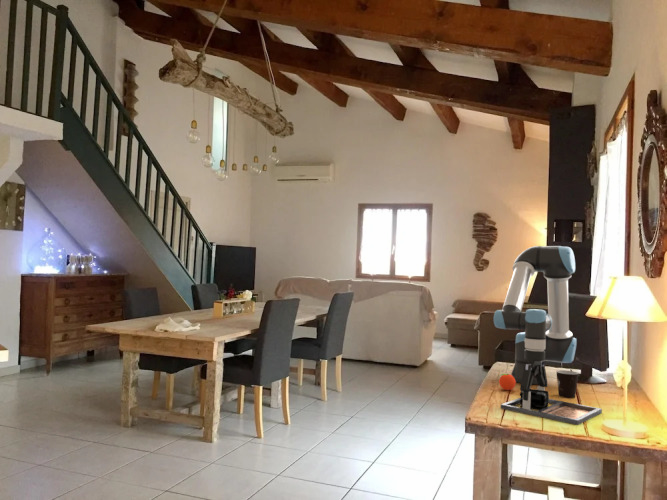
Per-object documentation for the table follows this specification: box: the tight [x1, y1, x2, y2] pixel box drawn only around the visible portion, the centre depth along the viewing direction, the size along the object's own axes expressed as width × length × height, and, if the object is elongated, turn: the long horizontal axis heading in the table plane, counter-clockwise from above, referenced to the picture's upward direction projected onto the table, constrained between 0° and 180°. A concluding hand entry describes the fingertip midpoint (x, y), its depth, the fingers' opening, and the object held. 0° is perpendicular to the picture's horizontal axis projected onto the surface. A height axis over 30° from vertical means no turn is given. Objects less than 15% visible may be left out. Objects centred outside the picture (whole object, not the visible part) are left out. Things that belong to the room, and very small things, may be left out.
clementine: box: [498, 373, 517, 391], centre depth 247 cm, size 8×7×7 cm
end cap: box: [519, 388, 550, 411], centre depth 218 cm, size 10×7×7 cm
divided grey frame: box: [500, 397, 603, 426], centre depth 213 cm, size 24×28×2 cm
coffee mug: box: [556, 369, 579, 399], centre depth 237 cm, size 12×9×10 cm
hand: (533, 406), depth 218 cm, fingers open, 12 cm apart
